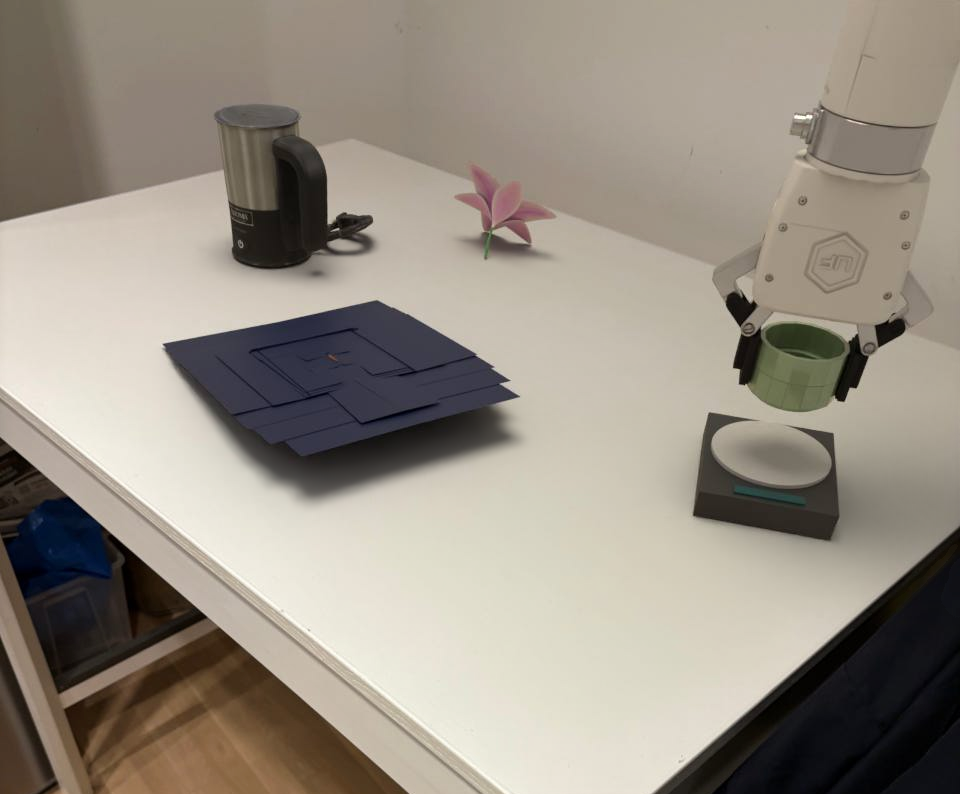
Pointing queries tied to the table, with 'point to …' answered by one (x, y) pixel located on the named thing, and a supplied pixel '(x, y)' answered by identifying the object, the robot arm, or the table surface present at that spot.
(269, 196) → the milk frother
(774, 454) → the scale
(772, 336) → the bowl
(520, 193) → the lily
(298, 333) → the papers
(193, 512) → the table surface
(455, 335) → the table surface
